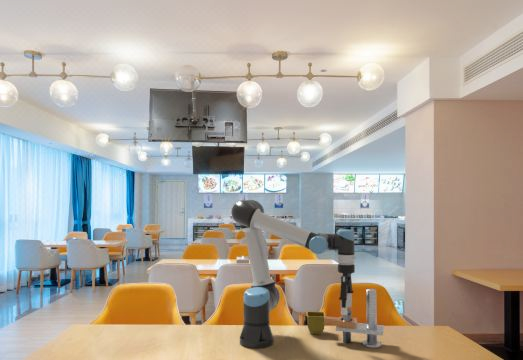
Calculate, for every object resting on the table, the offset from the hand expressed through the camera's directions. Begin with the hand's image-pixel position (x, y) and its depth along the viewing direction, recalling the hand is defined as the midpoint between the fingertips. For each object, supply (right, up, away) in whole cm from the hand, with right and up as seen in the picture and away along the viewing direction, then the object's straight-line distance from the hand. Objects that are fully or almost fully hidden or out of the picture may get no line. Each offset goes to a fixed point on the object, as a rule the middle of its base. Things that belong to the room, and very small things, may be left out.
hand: (346, 311), depth 189 cm
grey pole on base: (+3, -14, -2) cm, 14 cm away
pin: (0, -14, -1) cm, 14 cm away
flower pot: (-12, -15, +12) cm, 23 cm away
